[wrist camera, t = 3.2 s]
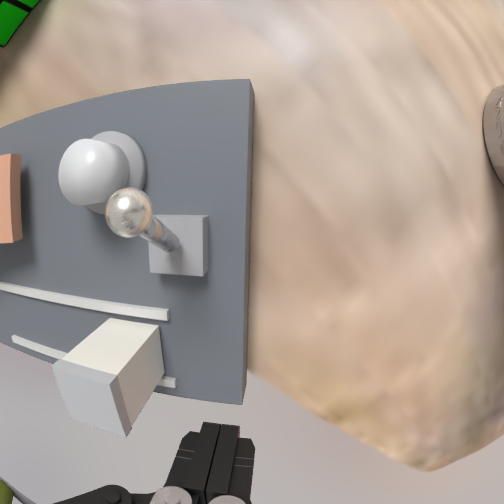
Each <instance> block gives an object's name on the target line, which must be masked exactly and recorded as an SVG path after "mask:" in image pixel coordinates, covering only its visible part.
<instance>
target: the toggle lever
mask: <svg viewBox="0 0 504 504" xmlns="http://www.w3.org/2000/svg"><path fill="white" fill-rule="evenodd" d="M153 214H154V210H153V204H152V202H151V200H150V198H149V197H148V195H147V194H146V193H144V192H143V191H142V190H140V189H137V188H132V187H128V188H123V189H120V190H118V191H117V192H115V193H114V194H113V195H112V196H111V197H110V199H109V200H108V202H107V205H106V209H105V218H106V222H107V224H108V226H109V228H110V229H111V230H112V231H113V232H114V233H115V234H117V235H119V236H121V237H125V238H132V237H136V236H141V237H142V238H144V239H145V240H147V241H148V242H150V243H152V244H153V245H155V246H156V247H158V248H160V249H161V250H163V251H164V252H167V253H172V252H174V251H176V250H177V249H178V247H179V238H178V237H177V235H176V234H174V233H173V232H172V231H171V230H170V229H169V228H168V227H166V226H165V225H164V224H163V223H162V222H161V221H159V220H158V219H157V218H156V217H155V216H154V215H153Z"/></svg>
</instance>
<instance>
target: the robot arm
mask: <svg viewBox="0 0 504 504" xmlns="http://www.w3.org/2000/svg"><path fill="white" fill-rule="evenodd" d="M483 128H484V135H485V142H486V146H487V150H488V154H489V157H490V159H491V162H492V165H493V167H494V169H495V171H496V173H497V175H498V177H499V179H500V180H501V182H502V183H503V185H504V85H502V86H499V87H497V88H496V89H494V90H493V91H492V92H491V93H490V95H489V96H488V98H487V101H486V103H485V108H484V115H483ZM239 434H240V426H235V425H225V424H222V425H221V424H217V423H209V422H203V424H202V428H201V431H200V433H198V432H192V431H190V432H189V433H188V434H187V435H186V436H184V437H183V438H182V441H181V444H180V446H179V450H178V451H177V454H176V457H175V460H174V462H173V465H172V468H171V470H170V473H169V475H168V478H167V481H166V483H165V485H164V486H163V488H161V489H159V490H158V491H157V492H154V493H150V494H131V493H129V492H128V491H127V490H126V489H125V488H123V487H121V486H118V485H107V486H104V487H101V488H98V489H96V490H93V491H90V492H88V493H85V494H82V495H79V496H76V497H73V498H70V499H67V500H64V501H61V502H57V503H54V504H252V503H251V501H250V493H251V484H252V475H253V466H254V454H255V447H254V445H253V442H252V440H251V439H248V438H239Z"/></svg>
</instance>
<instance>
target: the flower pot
mask: <svg viewBox="0 0 504 504" xmlns="http://www.w3.org/2000/svg"><path fill="white" fill-rule="evenodd" d="M13 495H14V493H13V491H12V490H11V489H10V488H9V487H8V486H7V485H6V484H5V483H3V482H2V481H1V480H0V504H12V500H13Z"/></svg>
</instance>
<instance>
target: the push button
mask: <svg viewBox="0 0 504 504" xmlns="http://www.w3.org/2000/svg"><path fill="white" fill-rule="evenodd" d="M128 176H129V163H128V159H127V157H126V154H125V153H124V151H123V150H122V149H121V148H120V147H119V146H117V145H115V144H113V143H108V142H103V141H98V140H92V139H81V140H78V141H76V142H74V143H73V144H72V145H70V146H69V147H68V149H67V150H66V151H65V153H64V155H63V157H62V159H61V162H60V165H59V172H58V179H59V185H60V188H61V191H62V193H63V195H64V196H65V198H66V199H67V200H68V201H69V202H71V203H73V204H75V205H89V204H95V203H102V202H108V200H109V199H110V197H111V196H112V195H113V194H114V193H115V192H117V191H118V190H120V189H123V188H125V186H126V183H127V180H128Z"/></svg>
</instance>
